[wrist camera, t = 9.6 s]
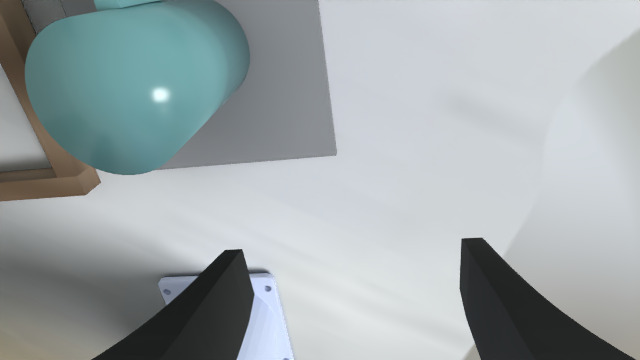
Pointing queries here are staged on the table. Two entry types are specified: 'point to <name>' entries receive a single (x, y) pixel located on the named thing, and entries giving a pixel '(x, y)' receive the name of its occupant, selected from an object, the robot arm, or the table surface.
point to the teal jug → (134, 78)
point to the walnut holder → (35, 122)
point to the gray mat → (265, 90)
